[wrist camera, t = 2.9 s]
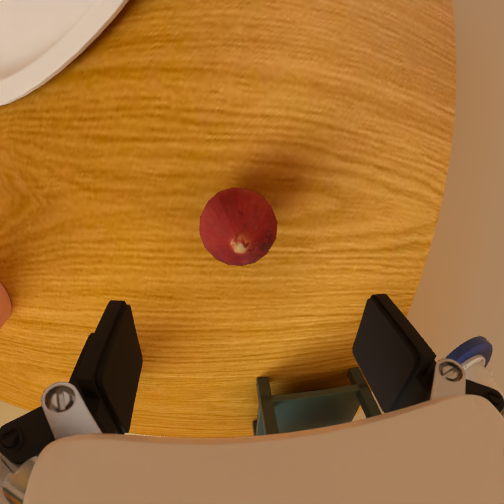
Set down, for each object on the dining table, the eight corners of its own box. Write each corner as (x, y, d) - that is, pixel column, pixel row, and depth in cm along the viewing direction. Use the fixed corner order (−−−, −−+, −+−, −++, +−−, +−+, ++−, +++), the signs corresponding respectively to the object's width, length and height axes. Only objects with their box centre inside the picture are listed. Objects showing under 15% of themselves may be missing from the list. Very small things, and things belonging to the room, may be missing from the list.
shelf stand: (358, 366, 36) (386, 422, 27) (337, 415, 41) (355, 464, 32) (256, 377, 34) (268, 444, 25) (252, 425, 39) (260, 480, 30)
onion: (280, 198, 25) (305, 229, 18) (249, 252, 27) (261, 301, 20) (220, 168, 24) (221, 187, 17) (191, 227, 26) (181, 269, 18)
